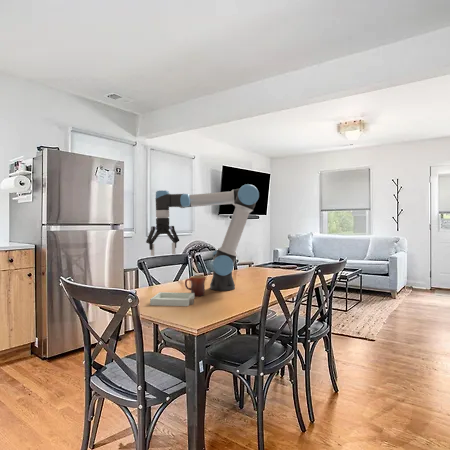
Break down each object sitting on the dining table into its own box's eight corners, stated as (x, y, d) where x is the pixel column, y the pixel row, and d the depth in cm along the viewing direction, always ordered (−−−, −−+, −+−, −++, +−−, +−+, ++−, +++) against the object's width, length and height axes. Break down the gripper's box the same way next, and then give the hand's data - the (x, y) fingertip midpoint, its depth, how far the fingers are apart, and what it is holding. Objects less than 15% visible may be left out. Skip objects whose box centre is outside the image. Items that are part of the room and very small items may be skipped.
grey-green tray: (197, 298, 190) (197, 293, 190) (191, 306, 173) (191, 300, 173) (159, 297, 192) (159, 292, 192) (150, 305, 175) (150, 299, 175)
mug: (201, 293, 204) (201, 275, 204) (208, 296, 196) (208, 277, 196) (182, 295, 199) (182, 276, 198) (187, 298, 191) (188, 279, 191)
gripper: (177, 217, 214) (178, 252, 215) (139, 218, 199) (140, 255, 199) (184, 217, 208) (185, 253, 209) (145, 217, 193) (146, 256, 193)
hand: (163, 254), depth 204 cm, fingers open, 13 cm apart
